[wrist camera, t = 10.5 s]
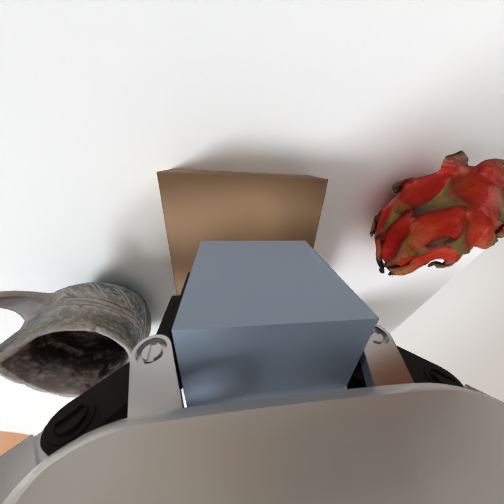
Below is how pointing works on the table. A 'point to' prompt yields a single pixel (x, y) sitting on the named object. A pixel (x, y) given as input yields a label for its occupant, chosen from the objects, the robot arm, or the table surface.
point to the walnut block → (235, 210)
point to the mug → (72, 336)
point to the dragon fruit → (441, 216)
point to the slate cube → (266, 323)
